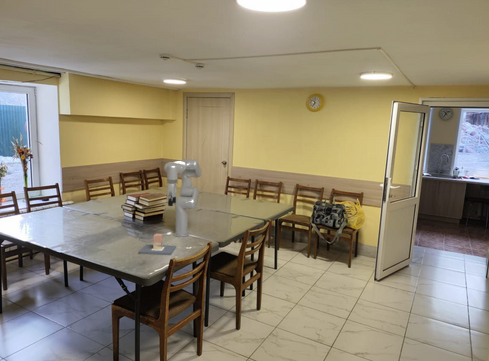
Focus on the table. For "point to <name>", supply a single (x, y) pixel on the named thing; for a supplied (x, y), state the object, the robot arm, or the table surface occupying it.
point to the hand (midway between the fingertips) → (172, 204)
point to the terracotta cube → (157, 238)
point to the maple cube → (157, 246)
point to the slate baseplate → (164, 251)
